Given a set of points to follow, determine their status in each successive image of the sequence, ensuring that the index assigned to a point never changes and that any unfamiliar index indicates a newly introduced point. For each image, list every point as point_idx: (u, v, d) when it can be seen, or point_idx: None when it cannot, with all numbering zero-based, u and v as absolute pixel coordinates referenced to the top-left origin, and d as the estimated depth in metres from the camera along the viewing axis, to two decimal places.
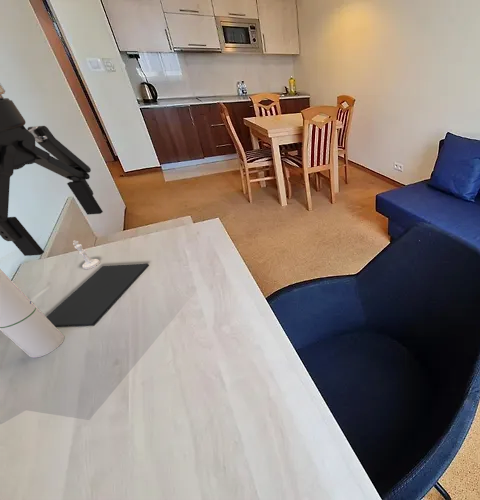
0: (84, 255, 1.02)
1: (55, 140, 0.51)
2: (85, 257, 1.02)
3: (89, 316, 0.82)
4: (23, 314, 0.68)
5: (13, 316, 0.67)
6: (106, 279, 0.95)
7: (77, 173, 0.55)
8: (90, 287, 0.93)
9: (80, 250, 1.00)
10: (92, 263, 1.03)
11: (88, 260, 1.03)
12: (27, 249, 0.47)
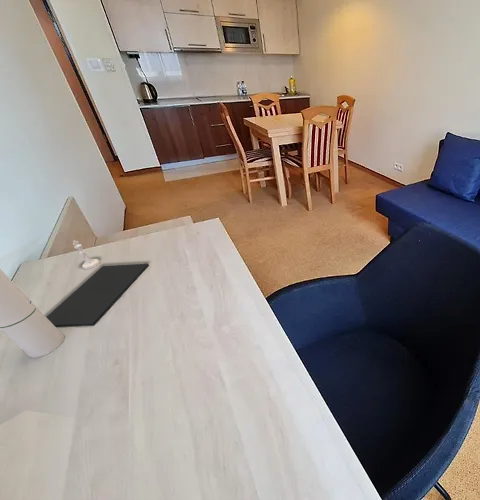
0: (84, 255, 1.02)
1: None
2: (85, 257, 1.02)
3: (89, 316, 0.82)
4: (23, 314, 0.68)
5: (13, 316, 0.67)
6: (106, 279, 0.95)
7: None
8: (90, 287, 0.93)
9: (80, 250, 1.00)
10: (92, 263, 1.03)
11: (88, 260, 1.03)
12: None
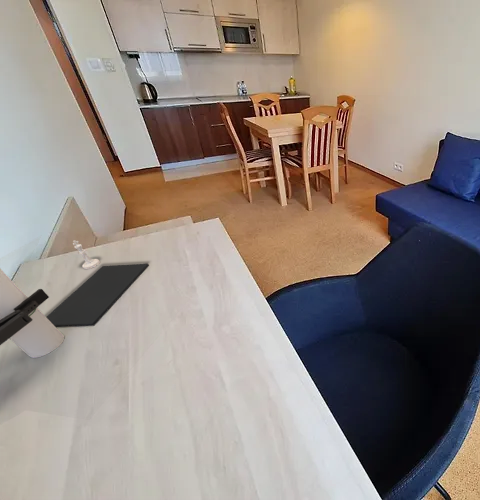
0: (84, 255, 1.02)
1: None
2: (85, 257, 1.02)
3: (89, 316, 0.82)
4: None
5: None
6: (106, 279, 0.95)
7: None
8: (90, 287, 0.93)
9: (80, 250, 1.00)
10: (92, 263, 1.03)
11: (88, 260, 1.03)
12: None
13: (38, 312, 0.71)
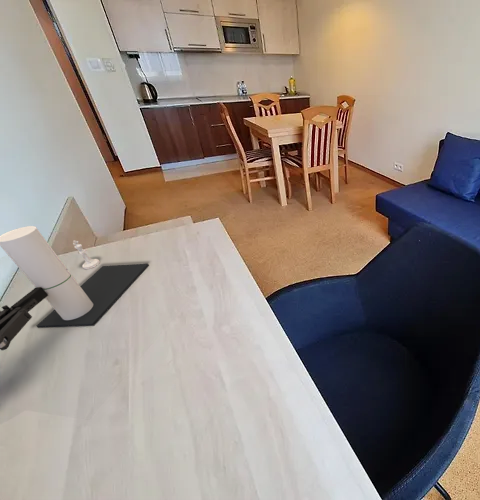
0: (84, 255, 1.02)
1: None
2: (85, 257, 1.02)
3: (89, 316, 0.82)
4: (61, 278, 0.77)
5: (53, 279, 0.75)
6: (106, 279, 0.95)
7: None
8: (90, 287, 0.93)
9: (80, 250, 1.00)
10: (92, 263, 1.03)
11: (88, 260, 1.03)
12: None
13: (72, 278, 0.80)
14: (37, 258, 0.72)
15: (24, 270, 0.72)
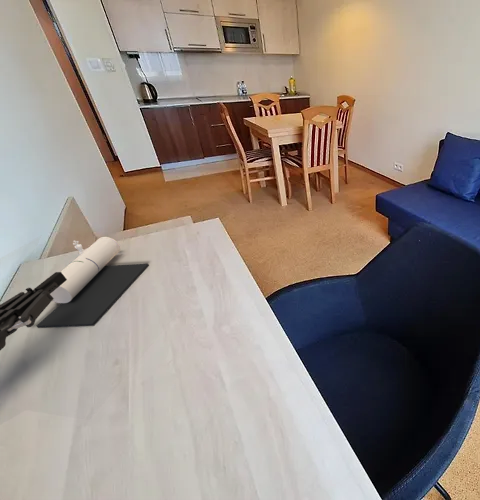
0: None
1: None
2: None
3: (89, 316, 0.82)
4: (75, 259, 0.93)
5: None
6: (106, 279, 0.95)
7: None
8: (90, 287, 0.93)
9: (80, 250, 1.00)
10: None
11: None
12: None
13: (79, 264, 0.92)
14: None
15: None
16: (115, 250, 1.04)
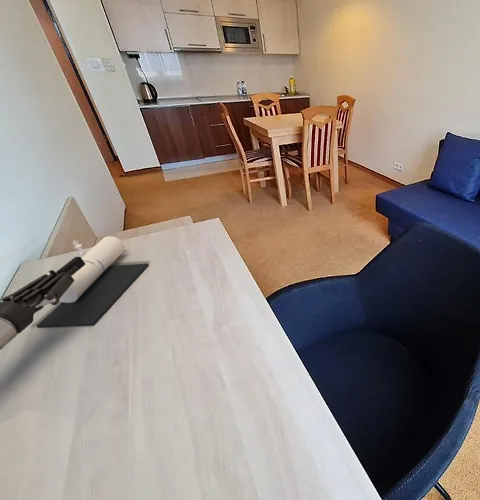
0: None
1: None
2: None
3: (89, 316, 0.82)
4: (85, 258, 0.93)
5: (82, 257, 0.94)
6: (106, 279, 0.95)
7: None
8: (90, 287, 0.93)
9: (80, 250, 1.00)
10: None
11: None
12: None
13: (90, 265, 0.92)
14: (96, 246, 0.99)
15: None
16: (120, 253, 1.05)
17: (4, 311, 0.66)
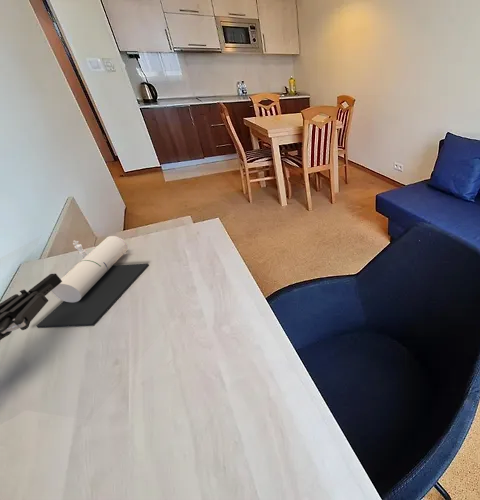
0: (84, 255, 1.02)
1: None
2: None
3: (89, 316, 0.82)
4: (92, 258, 0.93)
5: (89, 256, 0.94)
6: (106, 279, 0.95)
7: None
8: None
9: (80, 250, 1.00)
10: None
11: None
12: None
13: (97, 267, 0.93)
14: (102, 245, 0.99)
15: None
16: (122, 254, 1.05)
17: None
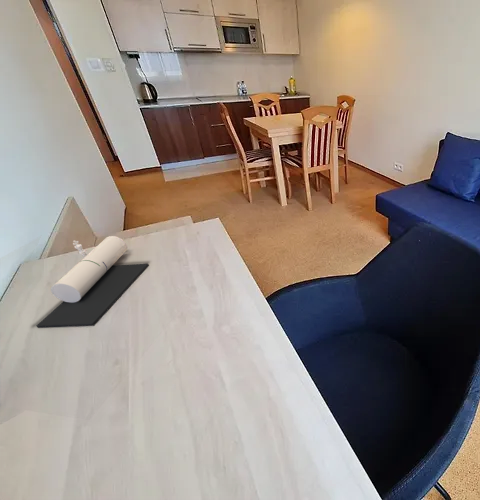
0: (84, 255, 1.02)
1: None
2: None
3: (89, 316, 0.82)
4: (91, 258, 0.93)
5: (88, 257, 0.94)
6: (106, 279, 0.95)
7: None
8: None
9: (80, 250, 1.00)
10: None
11: None
12: None
13: (96, 267, 0.93)
14: (101, 245, 0.99)
15: None
16: (122, 254, 1.05)
17: None
